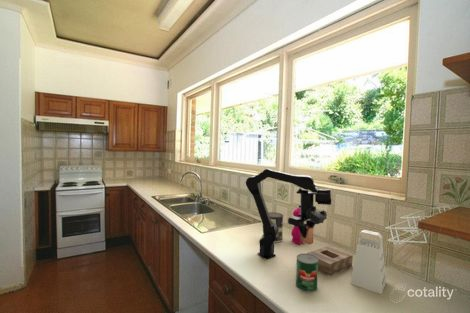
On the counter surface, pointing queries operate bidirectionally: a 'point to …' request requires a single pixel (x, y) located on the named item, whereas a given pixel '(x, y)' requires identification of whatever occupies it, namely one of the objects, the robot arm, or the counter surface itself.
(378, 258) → the grater
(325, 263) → the well block
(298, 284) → the canned tomato
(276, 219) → the coffee can
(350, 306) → the counter surface
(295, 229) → the pepper mill
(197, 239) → the counter surface
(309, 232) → the tall wooden block
